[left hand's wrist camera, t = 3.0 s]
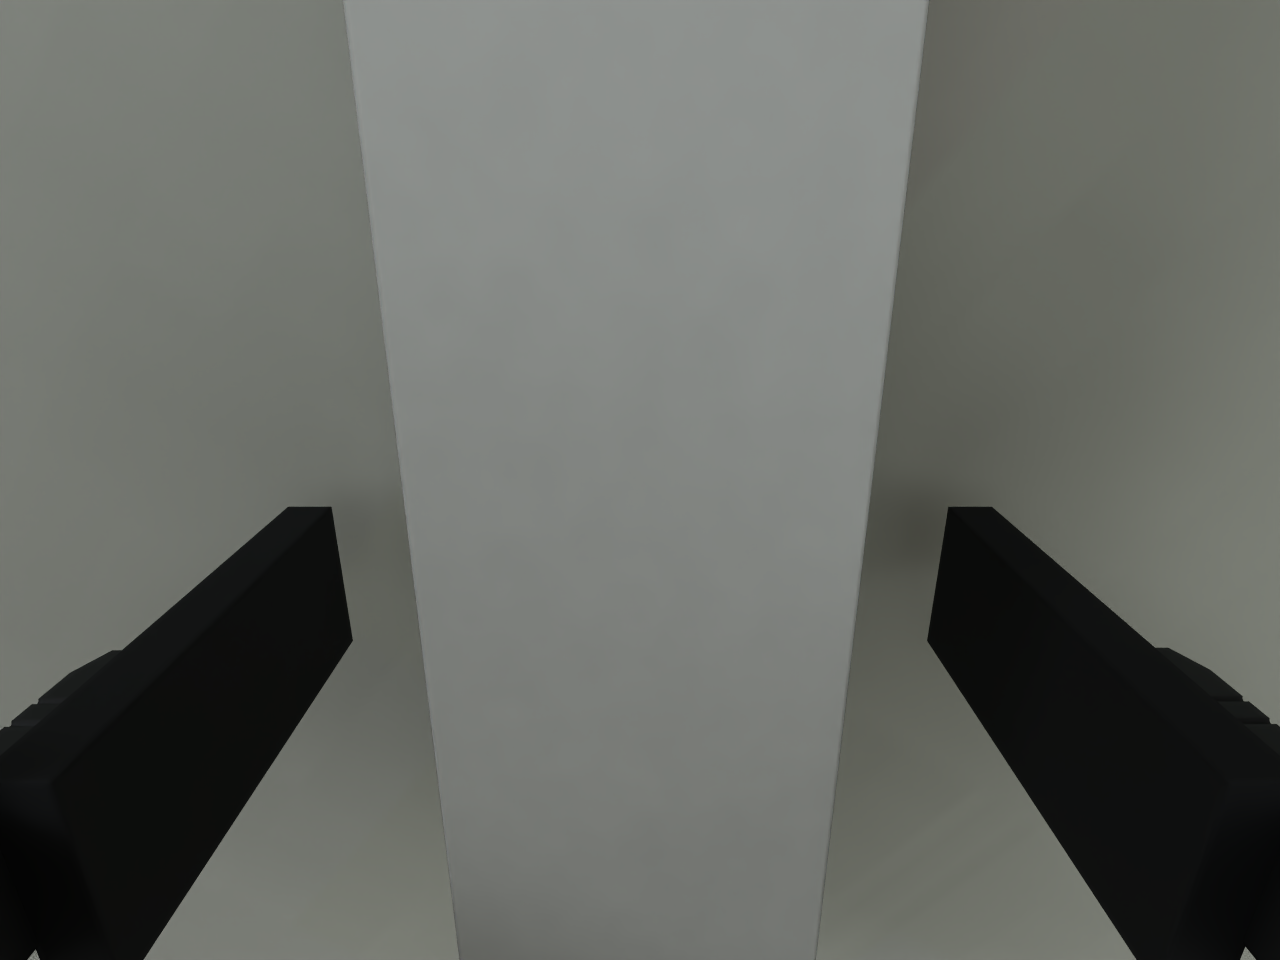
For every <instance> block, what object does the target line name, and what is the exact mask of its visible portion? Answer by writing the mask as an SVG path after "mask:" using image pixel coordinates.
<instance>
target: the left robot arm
mask: <svg viewBox="0 0 1280 960" xmlns="http://www.w3.org/2000/svg"><path fill="white" fill-rule="evenodd" d="M352 641H353V639H352V633H351V626H350V620H349V614H348V608H347V601H346V595H345V589H344V582H343V576H342V570H341V564H340V557H339V551H338V545H337V539H336V532H335V526H334V520H333V513H332V507H287V508H286V509H285V510H284V511H283V512H282V513H281V514H279V515H278V516H277V517H276V518H275V519H274V520H272V521H271V522H270V523H269V524H268V525H267V526H265V527H264V528H263V529H262V530H261V531H260V532H258V533H257V534H256V535H255V536H254V537H253V538H252V539H250V540H249V541H248V542H247V543H246V544H245V545H243V546H242V547H241V548H240V549H239V550H238V551H236V552H235V553H234V554H233V555H232V556H231V557H230V558H228V559H227V560H226V561H225V562H224V563H223V564H221V565H220V566H219V567H218V568H217V569H216V570H214V571H213V572H212V573H211V574H210V575H209V576H208V577H206V578H205V579H204V580H203V581H202V582H201V583H199V584H198V585H197V586H196V587H195V588H194V589H192V590H191V591H190V592H189V593H188V594H187V595H186V596H184V597H183V598H182V599H181V600H180V601H179V602H177V603H176V604H175V605H174V606H173V607H172V608H170V609H169V610H168V611H167V612H166V613H165V614H164V615H162V616H161V617H160V618H159V619H158V620H157V621H155V622H154V623H153V624H152V625H151V626H150V627H148V628H147V629H146V630H145V631H144V632H143V633H142V634H140V635H139V636H138V637H137V638H136V639H135V640H133V641H132V642H131V643H130V644H129V645H128V646H126V647H125V648H124V649H123V650H112V651H110V652H108V653H107V654H105V655H103V656H101V657H99V658H97V659H95V660H93V661H91V662H90V663H88V664H86V665H84V666H82V667H80V668H78V669H76V670H75V671H73V672H71V673H69V674H68V675H67V676H66V677H65V678H63V679H62V680H61V681H60V682H58V683H57V684H56V685H55V686H54V687H52V688H51V689H50V690H49V691H48V692H46V693H45V694H44V695H43V696H41V697H40V698H39V699H38V700H39V701H38V704H32V705H31V706H29V707H28V708H27V709H26V710H25V711H23V712H22V713H21V714H20V715H18V716H17V717H16V718H15V719H14V720H12V724H11V726H10V727H4V728H3V729H1V730H0V960H27V959H28V958H29V957H30V956H31V954H32V953H33V952H34V951H35V949H36V951H37V953H38V956H39V958H40V960H144V958H145V957H146V955H147V953H148V952H149V950H150V949H151V947H152V946H153V944H154V943H155V941H156V940H157V938H158V937H159V935H160V934H161V932H162V931H163V929H164V928H165V926H166V925H167V923H168V921H169V920H170V918H171V917H172V915H173V914H174V912H175V911H176V909H177V908H178V906H179V905H180V903H181V902H182V900H183V899H184V897H185V896H186V894H187V893H188V891H189V889H190V888H191V886H192V885H193V883H194V882H195V880H196V879H197V877H198V876H199V874H200V873H201V871H202V870H203V868H204V867H205V865H206V864H207V862H208V861H209V859H210V857H211V856H212V854H213V853H214V851H215V850H216V848H217V847H218V845H219V844H220V842H221V841H222V839H223V838H224V836H225V835H226V833H227V832H228V830H229V829H230V827H231V825H232V824H233V822H234V821H235V819H236V818H237V816H238V815H239V813H240V812H241V810H242V809H243V807H244V806H245V804H246V803H247V801H248V800H249V798H250V797H251V795H252V793H253V792H254V790H255V789H256V787H257V786H258V784H259V783H260V781H261V780H262V778H263V777H264V775H265V774H266V772H267V771H268V769H269V768H270V766H271V765H272V763H273V761H274V760H275V758H276V757H277V755H278V754H279V752H280V751H281V749H282V748H283V746H284V745H285V743H286V742H287V740H288V739H289V737H290V736H291V734H292V733H293V731H294V730H295V728H296V726H297V725H298V723H299V722H300V720H301V719H302V717H303V716H304V714H305V713H306V711H307V710H308V708H309V707H310V705H311V704H312V702H313V701H314V699H315V698H316V696H317V694H318V693H319V691H320V690H321V688H322V687H323V685H324V684H325V682H326V681H327V679H328V678H329V676H330V675H331V673H332V672H333V670H334V669H335V667H336V666H337V664H338V662H339V661H340V659H341V658H342V656H343V655H344V653H345V652H346V650H347V649H348V647H349V646H350V644H351V643H352ZM927 641H928V643H929V644H930V646H931V647H932V649H933V650H934V652H935V653H936V655H937V656H938V658H939V659H940V661H941V662H942V664H943V666H944V667H945V669H946V670H947V672H948V673H949V675H950V676H951V678H952V679H953V681H954V682H955V684H956V685H957V687H958V688H959V690H960V691H961V693H962V694H963V696H964V698H965V699H966V701H967V702H968V704H969V705H970V707H971V708H972V710H973V711H974V713H975V714H976V716H977V717H978V719H979V720H980V722H981V723H982V725H983V726H984V728H985V730H986V731H987V733H988V734H989V736H990V737H991V739H992V740H993V742H994V743H995V745H996V746H997V748H998V749H999V751H1000V752H1001V754H1002V755H1003V757H1004V758H1005V760H1006V762H1007V763H1008V765H1009V766H1010V768H1011V769H1012V771H1013V772H1014V774H1015V775H1016V777H1017V778H1018V780H1019V781H1020V783H1021V784H1022V786H1023V787H1024V789H1025V790H1026V792H1027V794H1028V795H1029V797H1030V798H1031V800H1032V801H1033V803H1034V804H1035V806H1036V807H1037V809H1038V810H1039V812H1040V813H1041V815H1042V816H1043V818H1044V819H1045V821H1046V822H1047V824H1048V826H1049V827H1050V829H1051V830H1052V832H1053V833H1054V835H1055V836H1056V838H1057V839H1058V841H1059V842H1060V844H1061V845H1062V847H1063V848H1064V850H1065V851H1066V853H1067V854H1068V856H1069V858H1070V859H1071V861H1072V862H1073V864H1074V865H1075V867H1076V868H1077V870H1078V871H1079V873H1080V874H1081V876H1082V877H1083V879H1084V880H1085V882H1086V883H1087V885H1088V886H1089V888H1090V889H1091V891H1092V893H1093V894H1094V896H1095V897H1096V899H1097V900H1098V902H1099V903H1100V905H1101V906H1102V908H1103V909H1104V911H1105V912H1106V914H1107V915H1108V917H1109V918H1110V920H1111V921H1112V923H1113V925H1114V926H1115V928H1116V929H1117V931H1118V932H1119V934H1120V935H1121V937H1122V938H1123V940H1124V941H1125V943H1126V944H1127V946H1128V947H1129V949H1130V950H1131V952H1132V953H1133V955H1134V957H1135V958H1136V960H1240V958H1241V956H1242V953H1243V951H1244V948H1245V946H1246V948H1247V949H1248V950H1249V951H1250V953H1251V954H1252V955H1253V956H1254V957H1255V959H1256V960H1280V727H1279V726H1278V725H1277V724H1271V723H1270V721H1269V718H1268V717H1267V716H1266V715H1265V714H1264V713H1262V712H1261V711H1260V710H1259V709H1257V708H1256V707H1255V706H1254V705H1253V704H1251V703H1250V702H1244V701H1243V699H1242V697H1243V696H1242V695H1240V694H1239V693H1238V692H1237V691H1235V690H1234V689H1233V688H1232V687H1231V686H1229V685H1228V684H1227V683H1226V682H1224V681H1223V680H1222V679H1221V678H1220V677H1218V676H1217V675H1216V674H1215V673H1213V672H1212V671H1211V670H1209V669H1208V668H1206V667H1204V666H1202V665H1200V664H1198V663H1196V662H1194V661H1192V660H1190V659H1189V658H1187V657H1185V656H1183V655H1181V654H1179V653H1177V652H1175V651H1173V650H1171V649H1170V648H1155V647H1154V646H1152V645H1151V644H1150V643H1149V642H1148V641H1147V640H1145V639H1144V638H1143V637H1142V636H1141V635H1140V634H1138V633H1137V632H1136V631H1135V630H1134V629H1133V628H1132V627H1130V626H1129V625H1128V624H1127V623H1126V622H1125V621H1123V620H1122V619H1121V618H1120V617H1119V616H1118V615H1116V614H1115V613H1114V612H1113V611H1112V610H1111V609H1110V608H1108V607H1107V606H1106V605H1105V604H1104V603H1103V602H1101V601H1100V600H1099V599H1098V598H1097V597H1096V596H1094V595H1093V594H1092V593H1091V592H1090V591H1089V590H1088V589H1086V588H1085V587H1084V586H1083V585H1082V584H1081V583H1079V582H1078V581H1077V580H1076V579H1075V578H1074V577H1072V576H1071V575H1070V574H1069V573H1068V572H1067V571H1065V570H1064V569H1063V568H1062V567H1061V566H1060V565H1059V564H1057V563H1056V562H1055V561H1054V560H1053V559H1052V558H1050V557H1049V556H1048V555H1047V554H1046V553H1045V552H1043V551H1042V550H1041V549H1040V548H1039V547H1038V546H1037V545H1035V544H1034V543H1033V542H1032V541H1031V540H1030V539H1028V538H1027V537H1026V536H1025V535H1024V534H1023V533H1021V532H1020V531H1019V530H1018V529H1017V528H1016V527H1015V526H1013V525H1012V524H1011V523H1010V522H1009V521H1008V520H1006V519H1005V518H1004V517H1003V516H1002V515H1001V514H999V513H998V512H997V511H996V510H995V509H994V508H993V507H948V513H947V520H946V526H945V532H944V538H943V545H942V551H941V557H940V564H939V570H938V576H937V582H936V589H935V595H934V601H933V607H932V614H931V620H930V626H929V633H928V639H927Z"/></svg>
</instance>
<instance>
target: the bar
mask: <svg viewBox="0 0 1280 960" xmlns="http://www.w3.org/2000/svg"><path fill="white" fill-rule="evenodd" d="M343 6H344V15H345V23H346V31H347V39H348V47H349V56H350V64H351V72H352V80H353V88H354V97H355V105H356V113H357V121H358V130H359V138H360V146H361V154H362V162H363V171H364V179H365V187H366V195H367V203H368V212H369V220H370V228H371V236H372V245H373V253H374V261H375V269H376V277H377V286H378V294H379V302H380V310H381V318H382V327H383V335H384V343H385V351H386V360H387V368H388V376H389V384H390V392H391V401H392V409H393V417H394V425H395V434H396V442H397V450H398V458H399V466H400V475H401V483H402V491H403V499H404V507H405V516H406V524H407V532H408V540H409V549H410V557H411V565H412V573H413V581H414V590H415V598H416V606H417V614H418V622H419V631H420V639H421V647H422V655H423V664H424V672H425V680H426V688H427V696H428V705H429V713H430V721H431V729H432V737H433V746H434V754H435V762H436V770H437V779H438V787H439V795H440V803H441V811H442V820H443V828H444V836H445V844H446V852H447V861H448V869H449V877H450V885H451V894H452V902H453V910H454V918H455V926H456V935H457V943H458V951H459V959H460V960H816V953H817V944H818V936H819V928H820V919H821V911H822V902H823V894H824V885H825V877H826V868H827V860H828V852H829V843H830V835H831V826H832V818H833V809H834V801H835V792H836V784H837V776H838V767H839V759H840V750H841V742H842V733H843V725H844V716H845V708H846V700H847V691H848V683H849V674H850V666H851V657H852V649H853V640H854V632H855V624H856V615H857V607H858V598H859V590H860V581H861V573H862V565H863V556H864V548H865V539H866V531H867V522H868V514H869V505H870V497H871V489H872V480H873V472H874V463H875V455H876V446H877V438H878V429H879V421H880V413H881V404H882V396H883V387H884V379H885V370H886V362H887V353H888V345H889V337H890V328H891V320H892V311H893V303H894V294H895V286H896V278H897V269H898V261H899V252H900V244H901V235H902V227H903V218H904V210H905V202H906V193H907V185H908V176H909V168H910V159H911V151H912V142H913V134H914V126H915V117H916V109H917V100H918V92H919V83H920V75H921V66H922V58H923V50H924V41H925V33H926V24H927V16H928V7H929V0H343Z"/></svg>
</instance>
